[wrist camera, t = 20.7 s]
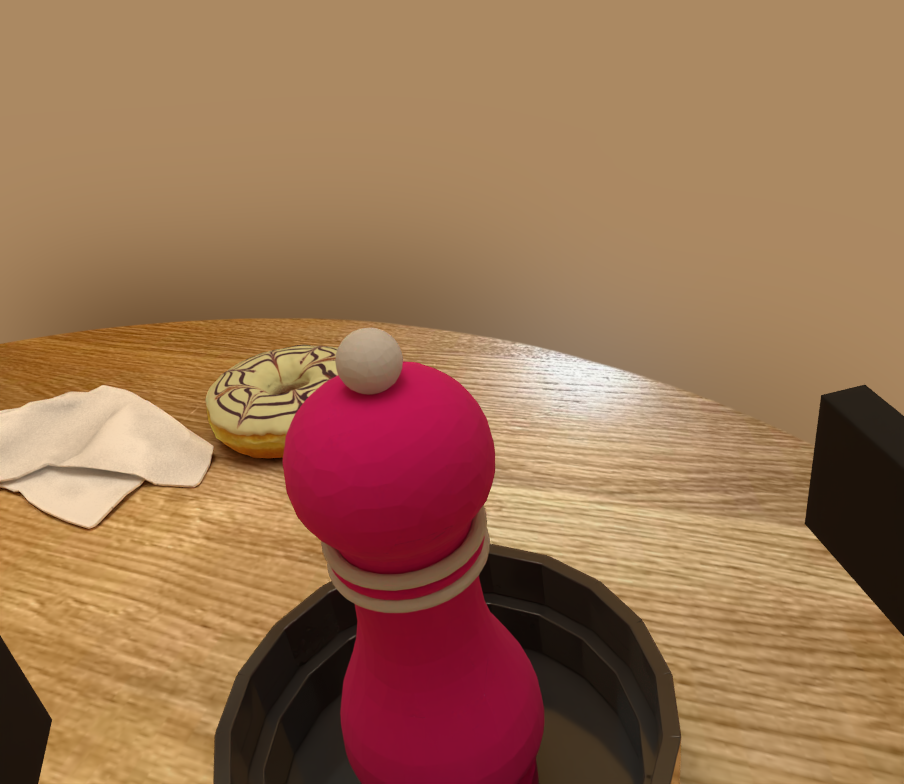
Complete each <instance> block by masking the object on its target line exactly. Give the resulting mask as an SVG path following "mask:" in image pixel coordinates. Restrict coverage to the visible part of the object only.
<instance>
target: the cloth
mask: <svg viewBox="0 0 904 784" xmlns="http://www.w3.org/2000/svg"><path fill="white" fill-rule="evenodd" d="M213 448H214V446H213V445H211V444H210V443H208V442H207V441H206V440H204V439H203V438H201V437H199V436H198V435H196V434H195V433H193V432H192V431H190V430H189V429H187V428H186V427H185V426H184V425H182V424H181V423H180V422H178V421H177V420H176V419H174V418H173V417H172V416H170V415H169V414H167V413H166V412H164V411H163V410H161V409H160V408H158V407H156V406H155V405H153V404H152V403H150V402H149V401H145V400H144V399H142V398H140V397H139V396H137V395H136V394H134V393H132V392H129V391H127V390H125V389H120V388H115V387H110V386H105V385H102V386H100V387H98V388H96V389H94V390H92V391H90V392H68V393H66V394H63V395H60V396H57V397H55V398H52V399H46V400H41V401H35V402H29V403H28V404H26V405H24V406H22V407H21V408H15V409H8V410H3V411H0V488H7V489H9V490H11V491H13V492H21V493H22V494H23V495H24V497H25V498H26V499H27V500H28V501H29V502H30V503H31V504H33V505H34V506H36V507H37V508H39V509H40V510H42V511H43V512H46V513H48V514H50V515H52V516H54V517H57V518H59V519H61V520H63V521H66V522H69V523H72V524H75V525H78V526H81V527H84V528H88V529H90V528H92V527H95V526H97V525H98V524H99V523H100V522H101V521H102V519H103V518H104V517H105V516H106V515H107V514H108V513H109V512H110V511H111V510H112V509H113V508H114V507H115V506H116V505H117V504H118V503H119V502H120V501H121V500H122V499H123V498H124V497H125V496H126V495H127V494H129V493H130V492H132V491H133V490H134V489H136V488H137V487H139V486H140V485H141V484H142V483H143V482H144V481H145V480H147V481H149V482H151V483H153V484H155V485H160V486H177V487H195V486H197V485H199V484H200V483H201V481H202V479H203V477H204V476H205V474H206V472H207V470H208V468H209V466H210V463H211V458H212V453H213Z"/></svg>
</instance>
